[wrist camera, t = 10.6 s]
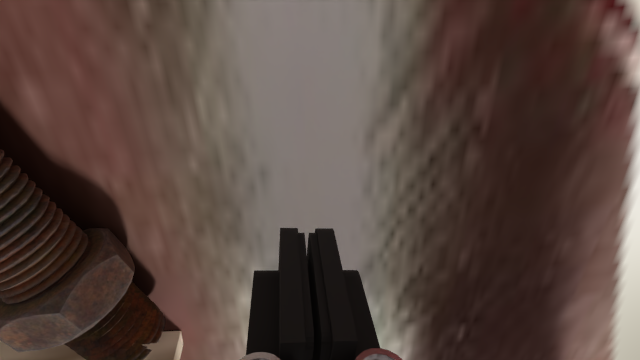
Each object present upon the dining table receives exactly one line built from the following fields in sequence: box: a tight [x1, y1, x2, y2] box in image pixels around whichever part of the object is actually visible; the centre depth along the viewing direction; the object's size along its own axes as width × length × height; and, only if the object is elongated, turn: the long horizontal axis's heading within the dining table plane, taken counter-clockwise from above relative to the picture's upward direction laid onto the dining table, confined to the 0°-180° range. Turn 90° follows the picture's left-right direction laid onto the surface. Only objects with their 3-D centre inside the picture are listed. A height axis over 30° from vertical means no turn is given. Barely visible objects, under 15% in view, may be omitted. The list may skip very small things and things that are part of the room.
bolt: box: [0, 149, 165, 360], centre depth 12 cm, size 6×5×15 cm
